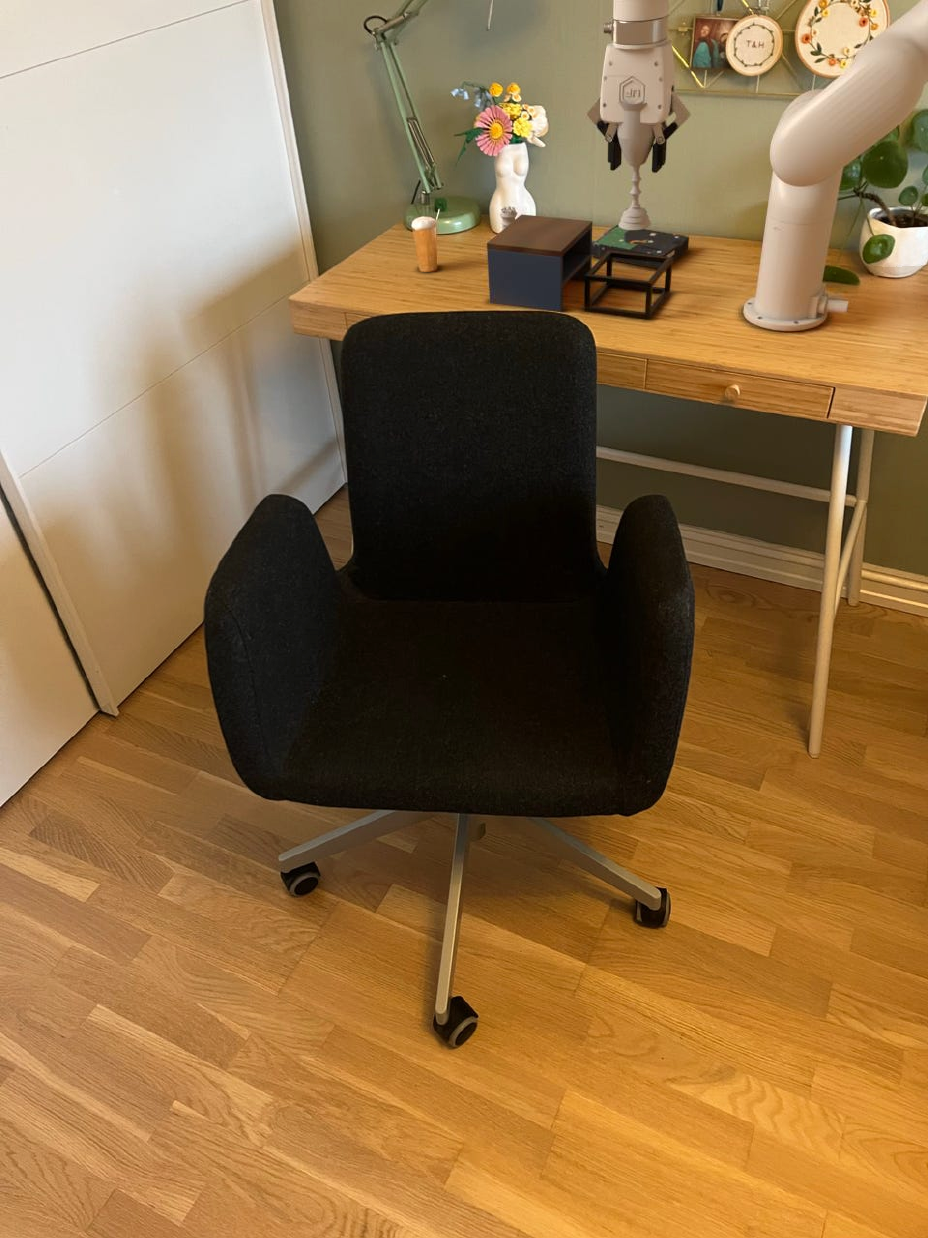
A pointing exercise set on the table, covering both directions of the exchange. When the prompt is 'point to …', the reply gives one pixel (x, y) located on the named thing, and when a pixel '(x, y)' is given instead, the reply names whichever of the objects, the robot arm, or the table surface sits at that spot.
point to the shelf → (538, 260)
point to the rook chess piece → (507, 216)
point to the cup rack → (628, 284)
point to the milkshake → (426, 242)
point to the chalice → (635, 161)
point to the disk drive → (640, 244)
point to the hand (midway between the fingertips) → (636, 167)
